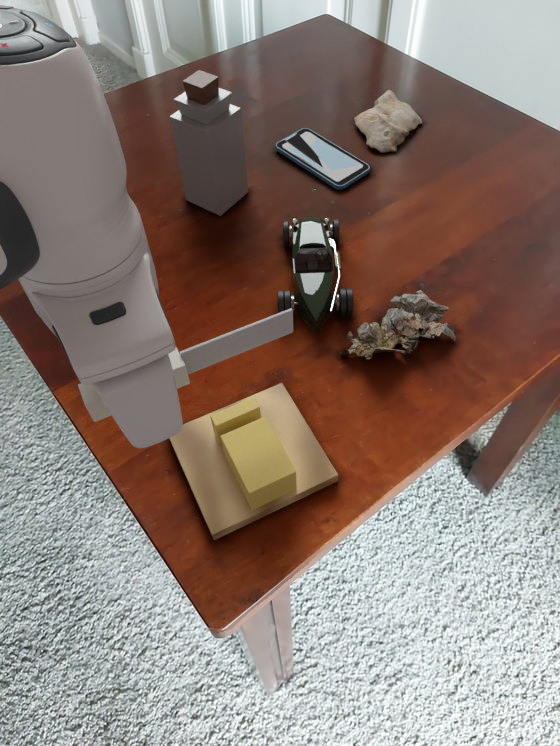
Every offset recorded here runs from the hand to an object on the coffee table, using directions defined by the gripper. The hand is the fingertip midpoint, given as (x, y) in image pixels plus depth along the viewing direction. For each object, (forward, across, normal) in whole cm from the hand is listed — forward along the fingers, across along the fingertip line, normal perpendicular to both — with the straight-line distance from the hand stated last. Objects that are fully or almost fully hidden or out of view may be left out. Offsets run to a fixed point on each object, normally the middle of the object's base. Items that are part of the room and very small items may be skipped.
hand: (134, 383), depth 52 cm
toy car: (+15, -16, +27) cm, 34 cm away
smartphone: (+14, -39, +40) cm, 58 cm away
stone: (+15, -42, +54) cm, 70 cm away
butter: (+13, +6, +8) cm, 17 cm away
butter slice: (+13, +1, +8) cm, 16 cm away
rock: (+15, -3, +31) cm, 35 cm away
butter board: (+15, +4, +8) cm, 17 cm away
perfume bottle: (+15, -39, +22) cm, 47 cm away
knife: (+2, 0, +6) cm, 6 cm away
